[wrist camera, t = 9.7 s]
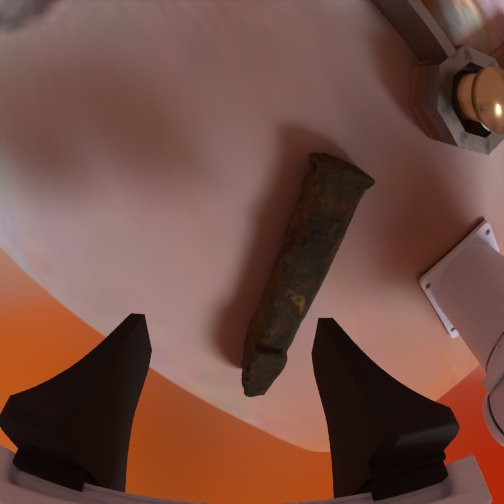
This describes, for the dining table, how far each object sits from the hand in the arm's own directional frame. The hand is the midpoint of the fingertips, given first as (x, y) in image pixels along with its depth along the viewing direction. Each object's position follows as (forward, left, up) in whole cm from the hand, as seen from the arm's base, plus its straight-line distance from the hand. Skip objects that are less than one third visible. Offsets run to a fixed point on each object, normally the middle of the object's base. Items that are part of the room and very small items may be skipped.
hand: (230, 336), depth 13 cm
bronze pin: (-2, -18, -9) cm, 20 cm away
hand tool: (-5, -1, -10) cm, 11 cm away
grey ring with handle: (+2, -18, -9) cm, 20 cm away
